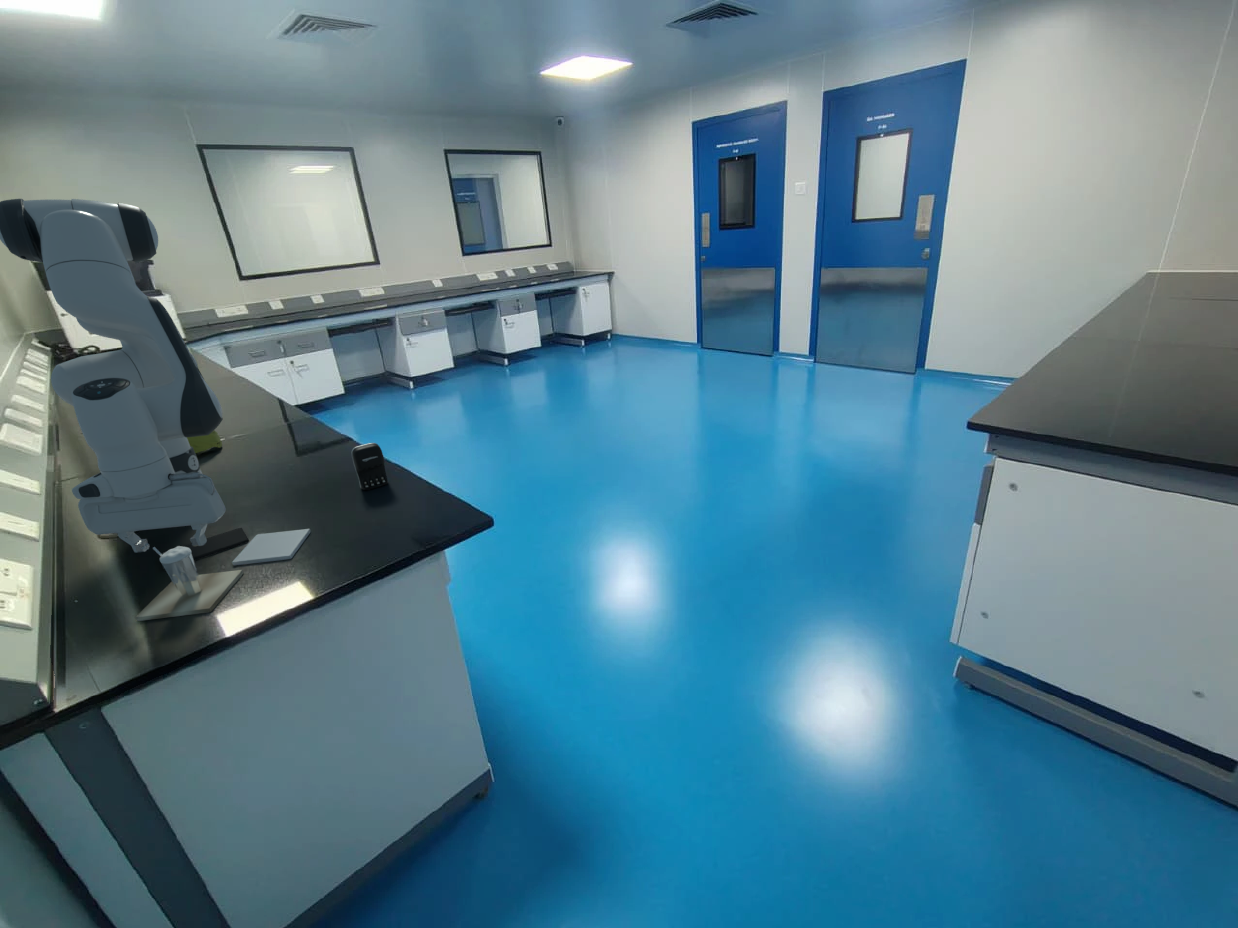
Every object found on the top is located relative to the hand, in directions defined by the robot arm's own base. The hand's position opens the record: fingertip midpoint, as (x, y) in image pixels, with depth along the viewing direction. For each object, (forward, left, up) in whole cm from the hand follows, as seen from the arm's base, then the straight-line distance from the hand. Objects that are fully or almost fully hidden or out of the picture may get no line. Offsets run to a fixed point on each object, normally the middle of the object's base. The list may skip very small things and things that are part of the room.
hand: (171, 547), depth 97 cm
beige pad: (0, 0, -11) cm, 10 cm away
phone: (-7, +18, -11) cm, 22 cm away
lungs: (-46, +86, -11) cm, 98 cm away
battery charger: (+22, +42, -11) cm, 49 cm away
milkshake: (0, 0, -10) cm, 10 cm away
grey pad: (+8, +15, -10) cm, 20 cm away
